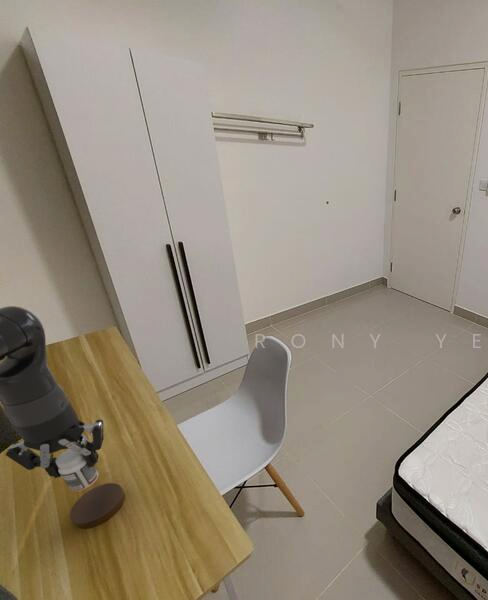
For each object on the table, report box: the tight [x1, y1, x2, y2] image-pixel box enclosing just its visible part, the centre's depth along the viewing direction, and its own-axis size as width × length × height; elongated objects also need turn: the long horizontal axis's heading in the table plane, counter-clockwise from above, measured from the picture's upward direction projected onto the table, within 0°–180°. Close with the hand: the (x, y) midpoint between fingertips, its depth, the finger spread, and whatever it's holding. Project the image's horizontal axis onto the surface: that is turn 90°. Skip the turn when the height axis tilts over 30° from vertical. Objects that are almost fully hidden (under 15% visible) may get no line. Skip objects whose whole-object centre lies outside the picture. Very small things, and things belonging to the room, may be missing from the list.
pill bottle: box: [56, 448, 100, 492], centre depth 68 cm, size 5×5×8 cm
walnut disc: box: [69, 482, 126, 530], centre depth 74 cm, size 9×9×2 cm
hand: (76, 468), depth 68 cm, fingers closed on pill bottle, 4 cm apart
